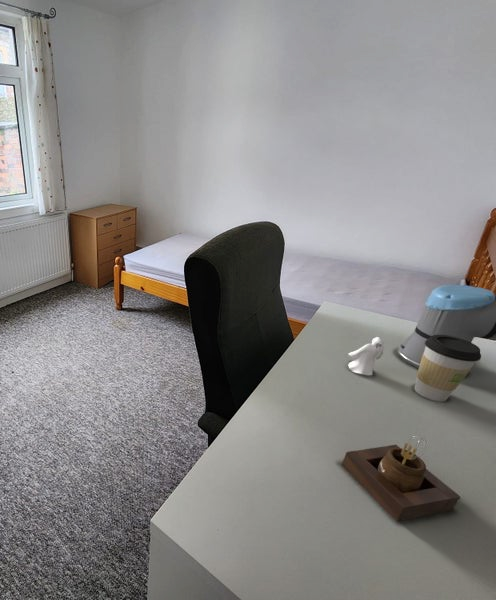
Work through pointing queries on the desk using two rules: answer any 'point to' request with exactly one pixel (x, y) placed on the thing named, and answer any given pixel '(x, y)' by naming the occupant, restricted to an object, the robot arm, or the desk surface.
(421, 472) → the utensil holder
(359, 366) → the figurine
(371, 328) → the desk surface
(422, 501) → the wooden frame
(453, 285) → the robot arm
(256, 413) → the desk surface
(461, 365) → the coffee cup
